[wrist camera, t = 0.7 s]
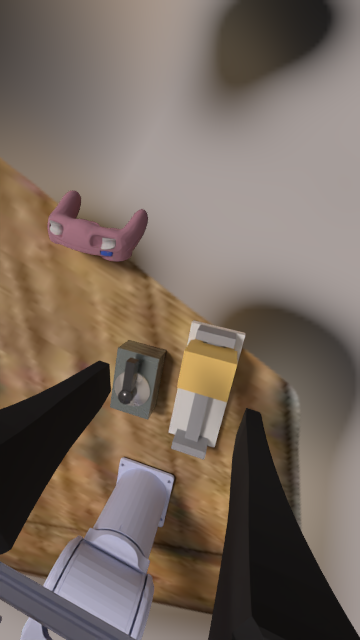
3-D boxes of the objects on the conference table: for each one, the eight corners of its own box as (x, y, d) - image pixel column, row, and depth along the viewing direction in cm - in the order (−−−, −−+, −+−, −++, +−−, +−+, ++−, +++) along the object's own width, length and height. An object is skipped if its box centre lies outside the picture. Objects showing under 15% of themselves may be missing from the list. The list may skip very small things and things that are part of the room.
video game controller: (78, 226, 31) (37, 248, 26) (72, 186, 28) (24, 203, 23) (150, 247, 29) (121, 275, 24) (152, 208, 26) (120, 231, 21)
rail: (215, 442, 31) (212, 462, 28) (170, 427, 32) (163, 445, 29) (245, 333, 28) (246, 342, 24) (193, 320, 29) (187, 327, 25)
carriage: (228, 379, 28) (226, 402, 23) (186, 368, 29) (176, 387, 24) (237, 347, 27) (237, 364, 22) (193, 336, 28) (184, 350, 23)
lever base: (155, 405, 32) (147, 421, 29) (121, 394, 33) (108, 408, 30) (166, 350, 30) (158, 360, 27) (128, 340, 31) (116, 348, 28)
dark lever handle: (136, 398, 28) (130, 406, 27) (123, 394, 29) (116, 401, 27) (142, 359, 27) (136, 365, 26) (129, 355, 27) (122, 361, 26)
